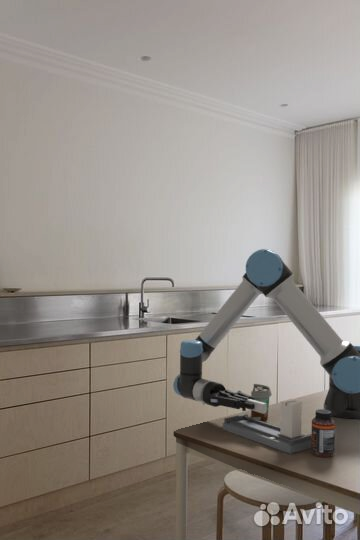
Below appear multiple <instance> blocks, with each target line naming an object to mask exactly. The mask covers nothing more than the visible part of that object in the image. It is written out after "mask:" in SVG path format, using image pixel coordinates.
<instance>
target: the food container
mask: <svg viewBox="0 0 360 540" xmlns="http://www.w3.org/2000/svg"><path fill="white" fill-rule="evenodd" d="M250 394H251V395H250V396H252V397H254V400H256V401H259V402H263V403H267V413H264V414H263V413H259V412H256V411H252V410H250V412H251V413H250V418H252V419H256V420H259V421H262V422H267V421H268V418H269V409H270V408H269V406H270V397H272V395H273V394H272V391H271V388H270V387H269V386H268V385H264V384H260V383H253V388H252V391H251V392H250Z"/></svg>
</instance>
